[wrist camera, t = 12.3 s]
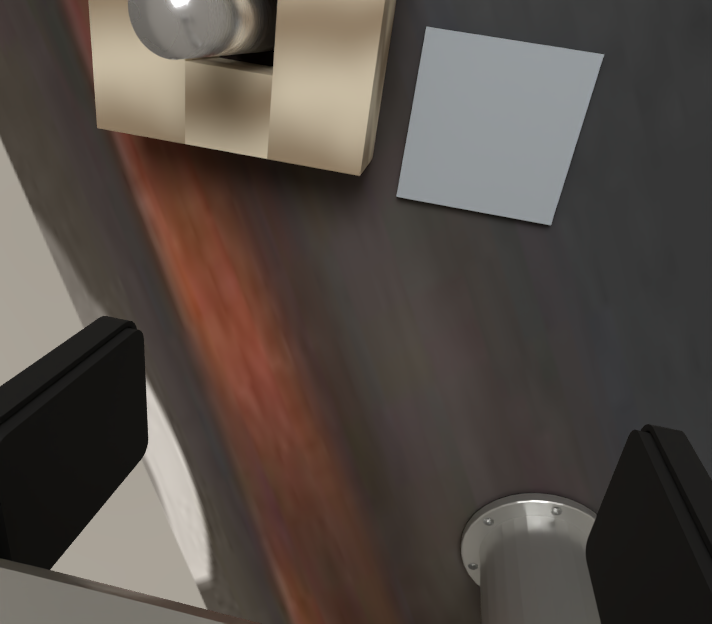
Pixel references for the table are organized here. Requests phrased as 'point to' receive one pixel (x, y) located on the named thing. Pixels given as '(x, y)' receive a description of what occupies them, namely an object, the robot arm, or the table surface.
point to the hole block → (254, 86)
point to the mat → (495, 123)
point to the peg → (204, 26)
